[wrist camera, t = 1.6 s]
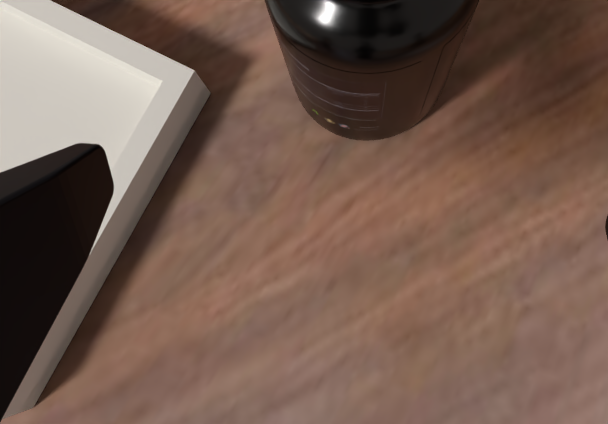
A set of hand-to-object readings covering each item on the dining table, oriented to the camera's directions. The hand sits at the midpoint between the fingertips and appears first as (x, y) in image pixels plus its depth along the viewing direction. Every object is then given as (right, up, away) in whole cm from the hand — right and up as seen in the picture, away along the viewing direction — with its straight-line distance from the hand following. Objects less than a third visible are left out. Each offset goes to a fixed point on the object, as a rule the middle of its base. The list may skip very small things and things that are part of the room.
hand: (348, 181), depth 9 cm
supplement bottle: (+2, +6, +15) cm, 16 cm away
